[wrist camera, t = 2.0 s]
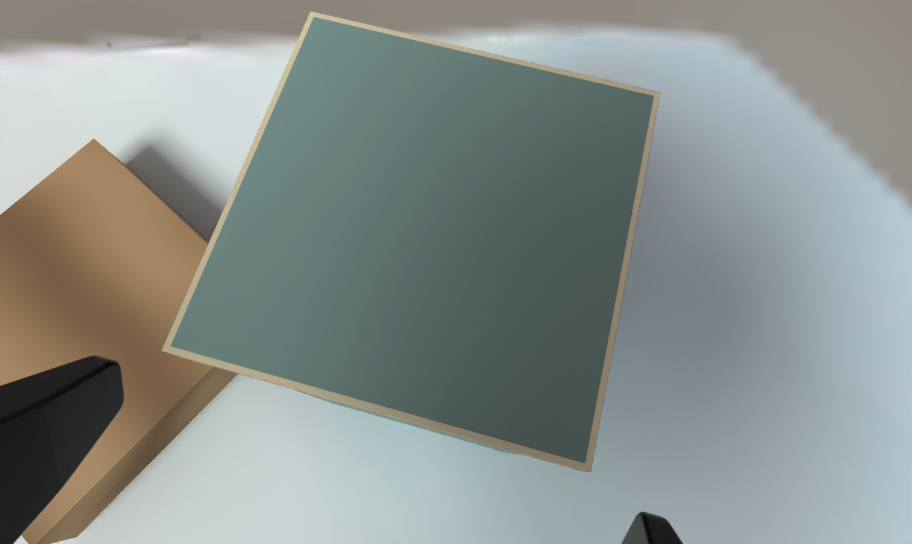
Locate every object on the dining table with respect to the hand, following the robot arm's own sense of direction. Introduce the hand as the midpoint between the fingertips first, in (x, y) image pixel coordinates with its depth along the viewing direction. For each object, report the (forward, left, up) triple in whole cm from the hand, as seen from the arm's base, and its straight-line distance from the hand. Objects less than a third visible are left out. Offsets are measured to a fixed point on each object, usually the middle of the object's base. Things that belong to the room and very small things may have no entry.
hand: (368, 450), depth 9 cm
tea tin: (+4, +2, -11) cm, 11 cm away
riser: (-4, +12, -11) cm, 17 cm away
